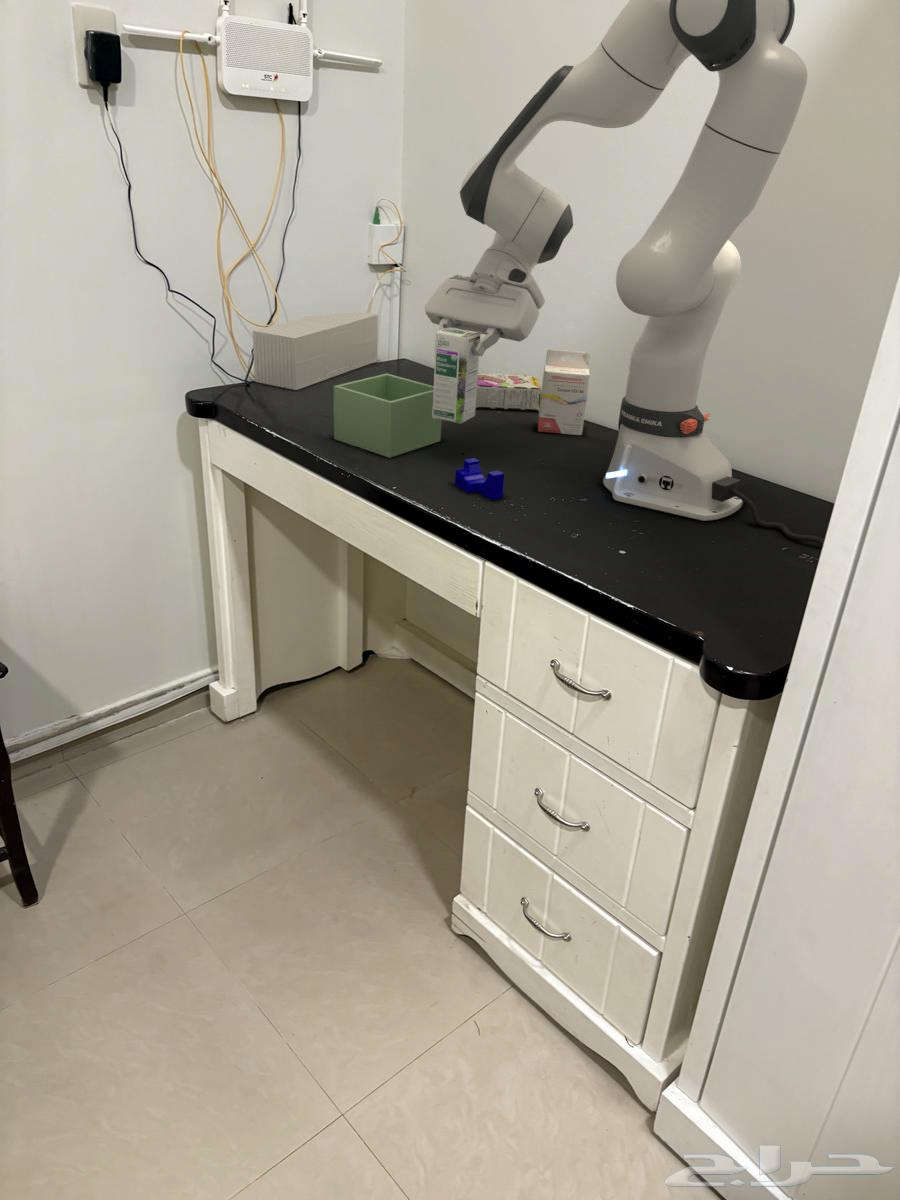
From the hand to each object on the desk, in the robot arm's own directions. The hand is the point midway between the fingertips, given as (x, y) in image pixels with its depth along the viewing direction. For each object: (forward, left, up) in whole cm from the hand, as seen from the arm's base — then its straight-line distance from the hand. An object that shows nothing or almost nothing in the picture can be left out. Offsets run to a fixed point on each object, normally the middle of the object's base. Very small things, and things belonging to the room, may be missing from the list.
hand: (457, 349), depth 154 cm
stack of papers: (+51, -23, -13) cm, 57 cm away
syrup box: (0, 0, -12) cm, 12 cm away
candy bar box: (+21, -27, -16) cm, 38 cm away
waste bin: (+13, +2, -18) cm, 23 cm away
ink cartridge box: (-5, -27, -18) cm, 33 cm away
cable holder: (-14, +10, -18) cm, 25 cm away
